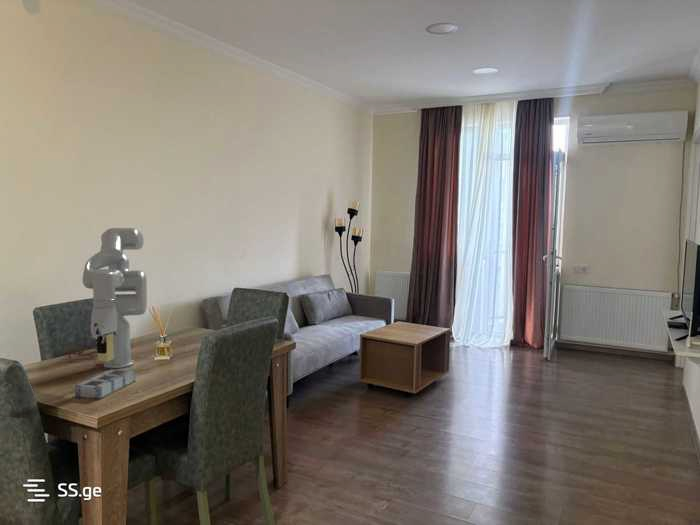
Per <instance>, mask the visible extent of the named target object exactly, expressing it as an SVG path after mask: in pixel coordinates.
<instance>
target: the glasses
mask: <svg viewBox="0 0 700 525" xmlns="http://www.w3.org/2000/svg"><path fill="white" fill-rule="evenodd" d="M82 346H83V348H82V350H81V347H82ZM85 348H89V349H94V350H97V347H95V346H90V345H86V344H85V343H81V344H80V345H79V347H78V346H77V347H71V348H70V349H69V352H68V357H69V356H71V354H72V355H74V356H75V355H77V356H83V357H84V356H90V358H92V359H93V358H96V357H95V356H94V355H92V354H90V353H89V354H88V353H84V351H85ZM77 350H78V352H76V351H77ZM81 352H82V353H81Z"/></svg>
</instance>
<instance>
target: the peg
mask: <svg viewBox="0 0 700 525" xmlns="http://www.w3.org/2000/svg"><path fill="white" fill-rule="evenodd" d="M100 338H102V336H100ZM104 343H106V353H104V354H103V353H97V362H105V361H110V360H112V359H114V340H113V333H109V334H106V335H105V341H104Z"/></svg>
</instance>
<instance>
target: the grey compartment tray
mask: <svg viewBox="0 0 700 525" xmlns="http://www.w3.org/2000/svg"><path fill="white" fill-rule="evenodd" d="M133 383H136V370H134V369H133V370H132V369H123V368H110V369H109V370H107V371H105V372H103V373H100V374H99V375H95V376H93V377H91V378H89V379H86V380H85V381H82V382H79V383H78V384H75V385H74V397H77V398H76V399H86V398H89V400H98V399H100V400H102V399H104V398H105V396H106V397H108V396H110V395H112V394H114V393H116V392H118V391H120V390H122V389H123V388H125V387H127V386H129V385H132V384H133ZM121 388H122V389H121ZM119 389H120V390H119ZM117 390H118V391H117ZM115 391H116V392H115ZM113 392H114V393H113ZM111 393H112V394H111ZM109 394H110V395H109ZM107 395H108V396H107ZM103 397H104V398H103ZM101 398H102V399H101Z"/></svg>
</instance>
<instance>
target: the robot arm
mask: <svg viewBox="0 0 700 525" xmlns="http://www.w3.org/2000/svg"><path fill="white" fill-rule="evenodd" d="M100 240H101V246H100V251H98V252H97V253H95V254H93V255H92V256H91V257H90V258H89V259H87V261H86V263H85V265H84V268H83V274H82V284H83V286H84V287H85V288H87V289H91V290H92V293H93V295H92V296H93V297H92V298H93V302H92V304H93V308H92V310H91V316H90V334H91V338H92V340H94V341H95V343H96V348H97V349H96V351H97V352H96V353H97V354H98V353H103V354H104V353H106V343H104V341H105V335H106V334H109V333H113V340H114V359H112V360H110V361H104V362H103V367H104V368H107V369H123V368H127V367H131V366H133V365H134V364H135V359H132V358H131V357H132V356H131V353H132V352H131V326H130V323H129V321H128V319H126V318H125V317H126V316H127V317H128V316H142V315H144V314H145V313H146V311H147V305H148V304H147V303H148V302H147V298H148V296H147V295H148V294H147V293H148V292H147V289H148V285H147V275H146V273H145V272H144V271H142V270H130V260H129V258H128V256H127V255H126V254H125V253H124V250H129V251H130V250H132V251H133V250H141V249H142V248H143V246H144V235H143V233H142V231H141V230H139V229H137V228H135V227H112V228H107V229H106V230H105V231H104V232H102V234H101V238H100ZM106 267H108V268H107V269H106ZM117 292H118V293H119V294H118V293H117ZM121 292H122V293H123V294H122V293H121ZM127 292H131V293H127ZM132 292H133V293H132ZM116 293H117V294H116ZM100 336H102V338H100Z"/></svg>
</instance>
